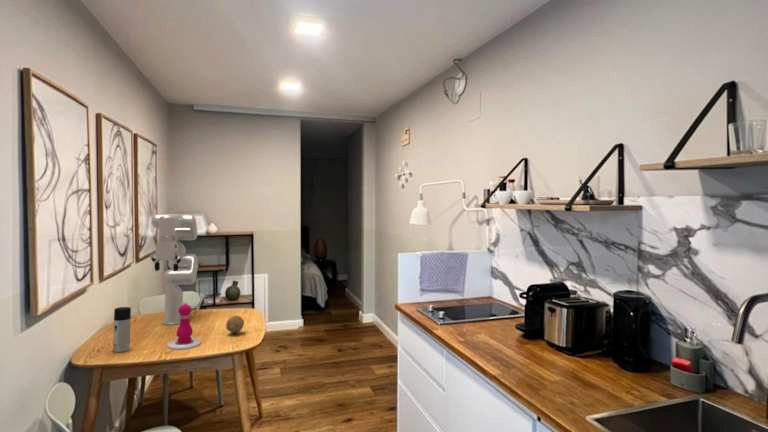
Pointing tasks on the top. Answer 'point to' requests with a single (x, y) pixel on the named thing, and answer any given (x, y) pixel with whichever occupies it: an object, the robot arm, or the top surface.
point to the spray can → (121, 329)
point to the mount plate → (177, 346)
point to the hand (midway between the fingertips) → (166, 270)
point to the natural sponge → (235, 324)
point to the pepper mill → (184, 324)
